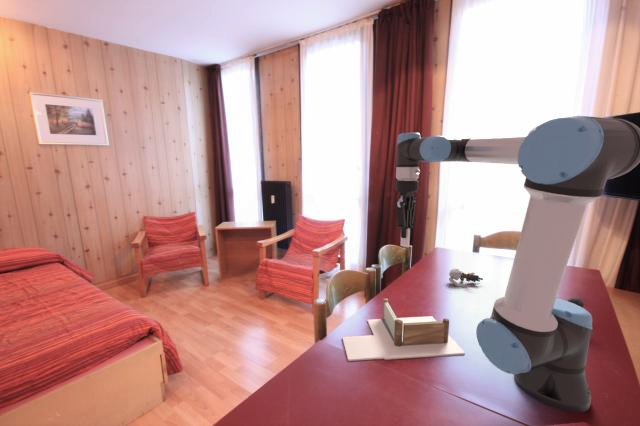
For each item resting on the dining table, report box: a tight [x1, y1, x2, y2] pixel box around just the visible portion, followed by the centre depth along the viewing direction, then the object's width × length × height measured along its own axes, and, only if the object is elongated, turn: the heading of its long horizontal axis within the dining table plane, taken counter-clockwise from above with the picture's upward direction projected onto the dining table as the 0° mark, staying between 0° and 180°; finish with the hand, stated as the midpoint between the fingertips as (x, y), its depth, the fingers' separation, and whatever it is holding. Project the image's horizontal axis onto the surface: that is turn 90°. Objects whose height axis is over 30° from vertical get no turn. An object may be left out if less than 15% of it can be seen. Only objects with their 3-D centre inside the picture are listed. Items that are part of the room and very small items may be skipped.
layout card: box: [341, 315, 466, 362], centre depth 95 cm, size 21×34×1 cm, turn 95°
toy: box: [448, 268, 484, 288], centre depth 134 cm, size 11×8×15 cm
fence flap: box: [382, 298, 398, 338], centre depth 99 cm, size 14×2×7 cm, turn 2°
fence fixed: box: [394, 318, 450, 347], centre depth 91 cm, size 2×17×8 cm, turn 95°
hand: (404, 246), depth 105 cm, fingers closed
